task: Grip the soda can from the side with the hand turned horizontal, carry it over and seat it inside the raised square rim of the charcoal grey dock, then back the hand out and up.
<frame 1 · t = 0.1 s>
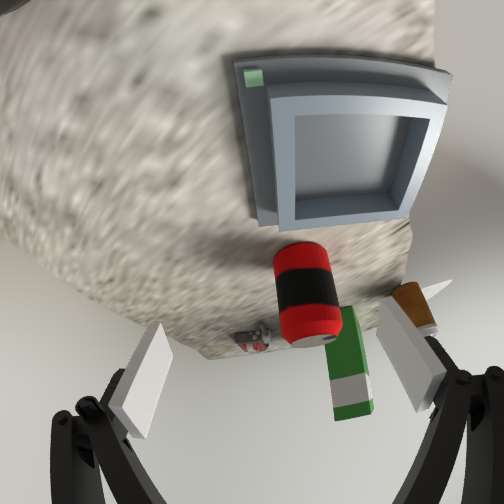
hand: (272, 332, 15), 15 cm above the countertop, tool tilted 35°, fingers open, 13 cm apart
disposable coffee cup: (404, 287, 52), on the countertop
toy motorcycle: (253, 331, 67), on the countertop
dock: (347, 147, 23), on the countertop
cereal box: (341, 319, 64), on the countertop
soda can: (299, 256, 38), on the countertop
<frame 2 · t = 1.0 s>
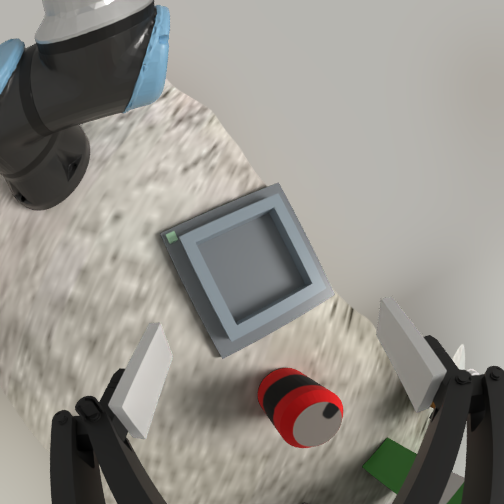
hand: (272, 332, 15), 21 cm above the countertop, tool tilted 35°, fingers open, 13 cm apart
dock: (250, 267, 37), on the countertop
cereal box: (394, 463, 37), on the countertop
soda can: (282, 391, 35), on the countertop
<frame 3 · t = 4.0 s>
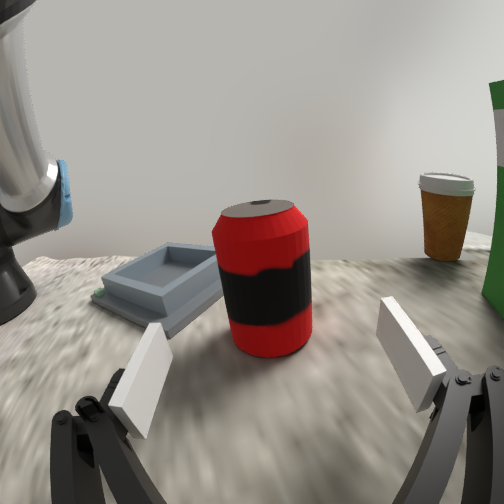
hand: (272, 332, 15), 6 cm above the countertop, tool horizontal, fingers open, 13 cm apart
disposable coffee cup: (442, 254, 35), on the countertop
dock: (171, 285, 38), on the countertop
soda can: (272, 334, 25), on the countertop
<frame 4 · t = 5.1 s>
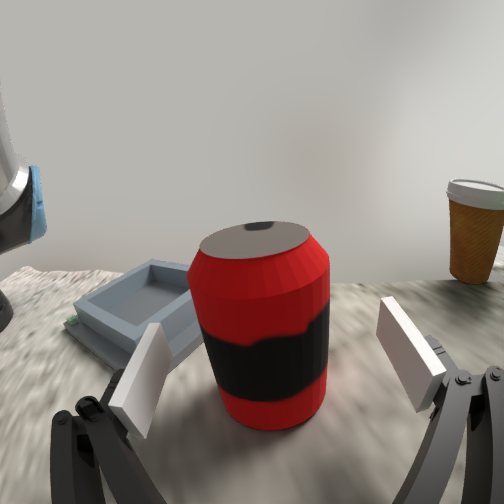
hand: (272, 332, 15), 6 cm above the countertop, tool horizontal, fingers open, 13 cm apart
disposable coffee cup: (468, 274, 28), on the countertop
dock: (153, 314, 31), on the countertop
soda can: (274, 393, 18), on the countertop
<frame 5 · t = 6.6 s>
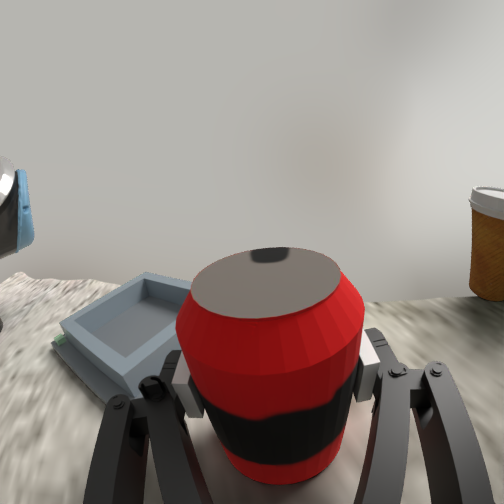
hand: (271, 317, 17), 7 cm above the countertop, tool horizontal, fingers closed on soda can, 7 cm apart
disposable coffee cup: (488, 290, 24), on the countertop
dock: (146, 336, 27), on the countertop
soda can: (283, 439, 15), on the countertop, touching gripper
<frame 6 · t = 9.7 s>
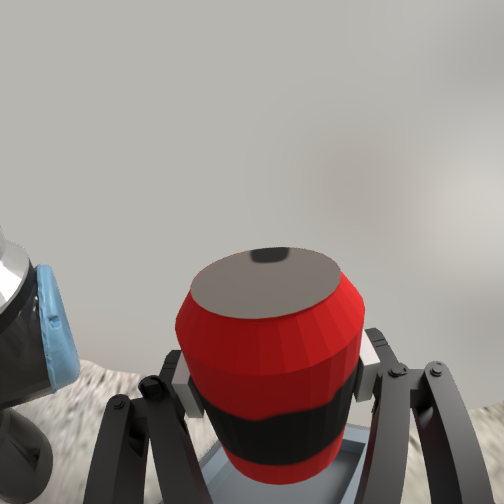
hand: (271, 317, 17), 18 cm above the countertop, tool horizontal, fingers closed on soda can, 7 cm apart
dock: (287, 486, 19), on the countertop
soda can: (283, 439, 15), point 11 cm above the countertop, touching gripper
when the fingers open (9 cm above the countertop, at t = 12.6 s): soda can drops 1 cm, resting on dock.
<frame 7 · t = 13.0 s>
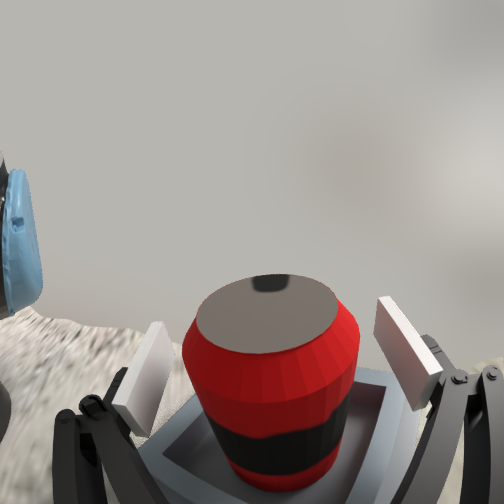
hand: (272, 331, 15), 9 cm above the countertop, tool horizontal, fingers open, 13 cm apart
dock: (284, 452, 15), on the countertop
soda can: (283, 448, 15), point 1 cm above the countertop, touching dock
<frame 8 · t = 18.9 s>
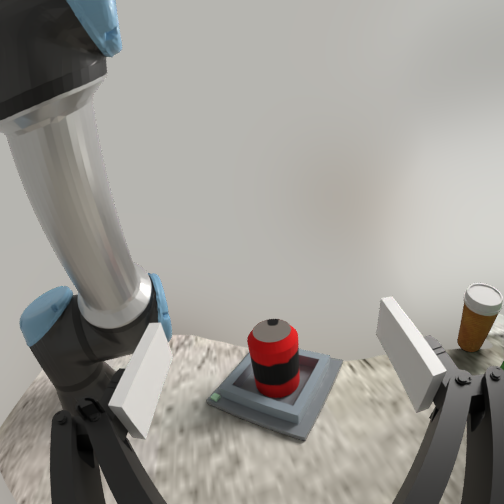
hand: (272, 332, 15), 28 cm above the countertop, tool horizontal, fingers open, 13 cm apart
disposable coffee cup: (469, 343, 41), on the countertop
dock: (278, 385, 44), on the countertop
soda can: (277, 383, 44), point 1 cm above the countertop, touching dock
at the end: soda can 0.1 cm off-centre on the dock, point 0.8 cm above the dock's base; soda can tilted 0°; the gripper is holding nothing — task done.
